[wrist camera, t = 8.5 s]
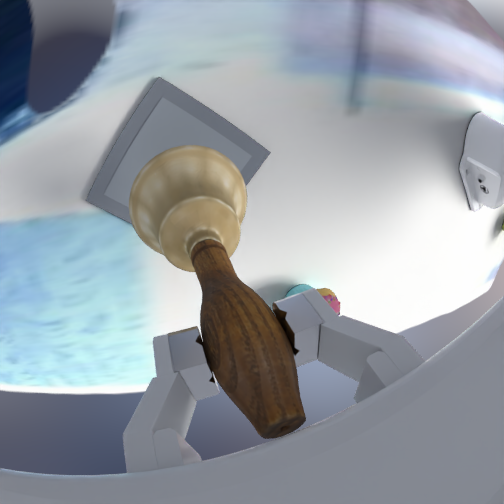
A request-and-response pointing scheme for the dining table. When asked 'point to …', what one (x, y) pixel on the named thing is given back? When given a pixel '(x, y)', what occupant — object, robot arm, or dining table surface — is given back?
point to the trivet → (168, 143)
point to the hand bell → (219, 279)
